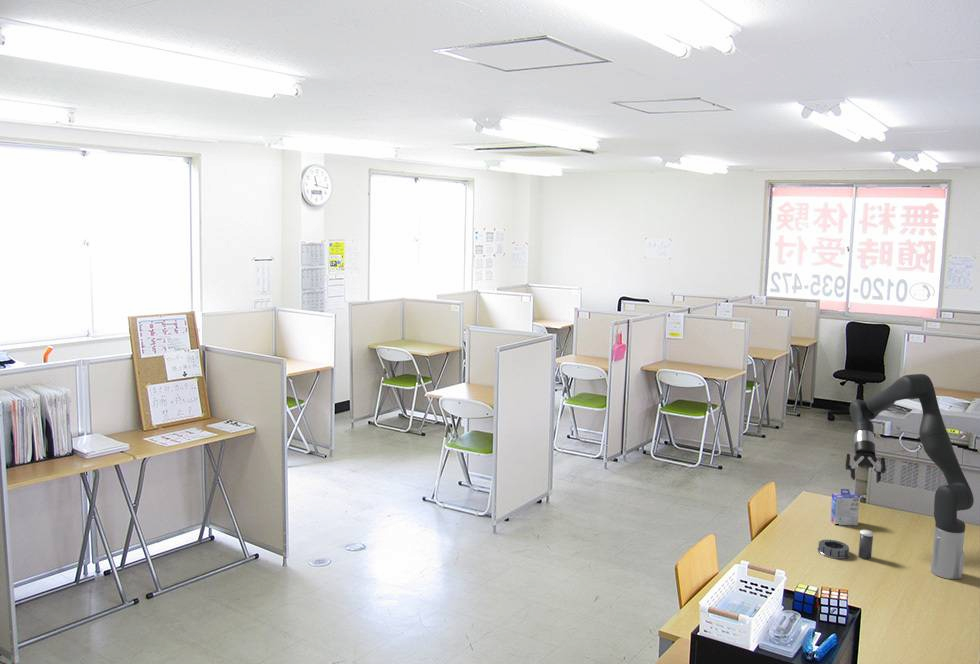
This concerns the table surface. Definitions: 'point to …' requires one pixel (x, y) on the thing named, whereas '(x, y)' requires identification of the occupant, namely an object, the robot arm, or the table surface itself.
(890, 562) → the table surface
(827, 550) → the dark grey ridged ring
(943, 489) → the robot arm
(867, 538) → the tube
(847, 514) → the ink cartridge box
